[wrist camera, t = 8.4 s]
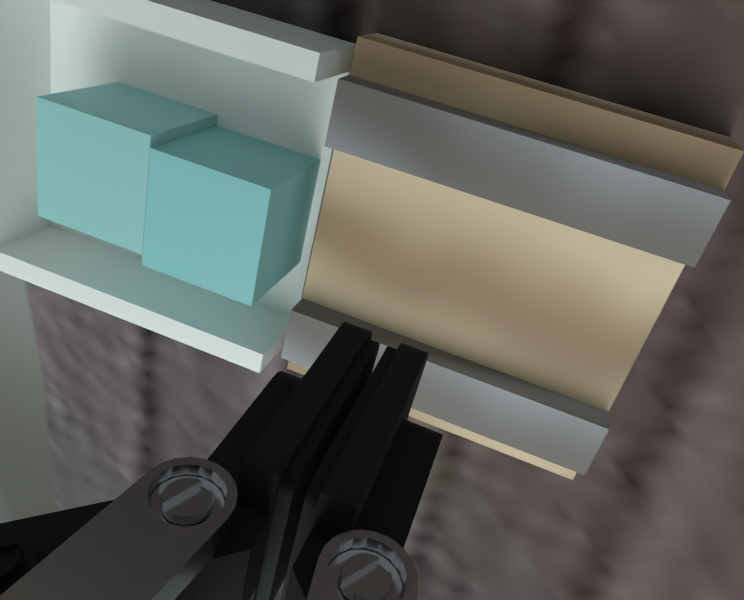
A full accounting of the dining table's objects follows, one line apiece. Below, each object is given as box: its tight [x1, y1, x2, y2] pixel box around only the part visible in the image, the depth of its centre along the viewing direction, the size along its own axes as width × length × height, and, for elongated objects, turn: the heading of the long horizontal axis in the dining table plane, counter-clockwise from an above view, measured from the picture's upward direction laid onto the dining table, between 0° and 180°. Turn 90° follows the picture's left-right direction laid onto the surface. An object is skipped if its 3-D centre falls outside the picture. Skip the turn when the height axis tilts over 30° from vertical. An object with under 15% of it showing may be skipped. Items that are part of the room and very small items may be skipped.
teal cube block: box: [142, 125, 321, 306], centre depth 22 cm, size 4×4×4 cm
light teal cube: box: [36, 82, 218, 255], centre depth 22 cm, size 4×4×4 cm
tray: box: [0, 0, 356, 373], centre depth 23 cm, size 11×12×4 cm
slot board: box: [281, 33, 744, 480], centre depth 21 cm, size 12×11×3 cm
